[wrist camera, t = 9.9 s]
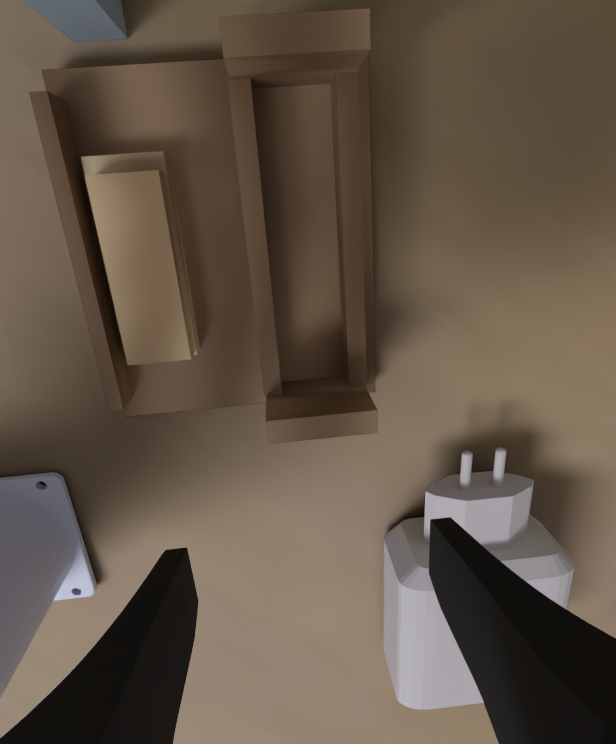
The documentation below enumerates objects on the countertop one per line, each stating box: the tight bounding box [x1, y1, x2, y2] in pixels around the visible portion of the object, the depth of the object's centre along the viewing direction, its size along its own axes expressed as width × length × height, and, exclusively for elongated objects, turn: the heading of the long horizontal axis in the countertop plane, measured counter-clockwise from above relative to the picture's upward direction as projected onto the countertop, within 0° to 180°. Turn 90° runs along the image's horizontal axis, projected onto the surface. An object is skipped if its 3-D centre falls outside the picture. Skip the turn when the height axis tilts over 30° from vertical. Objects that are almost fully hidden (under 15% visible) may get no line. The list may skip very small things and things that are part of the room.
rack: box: [29, 8, 378, 444], centre depth 18 cm, size 12×14×5 cm
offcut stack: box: [81, 151, 200, 365], centre depth 18 cm, size 3×8×2 cm, turn 4°
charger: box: [384, 447, 575, 710], centre depth 25 cm, size 5×9×15 cm
